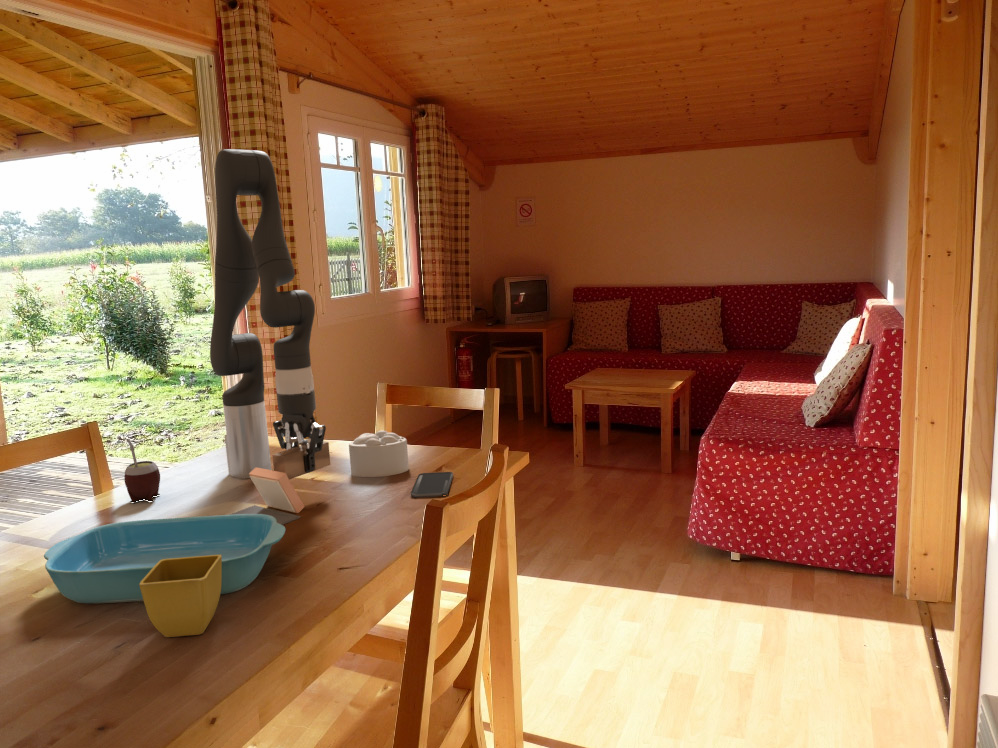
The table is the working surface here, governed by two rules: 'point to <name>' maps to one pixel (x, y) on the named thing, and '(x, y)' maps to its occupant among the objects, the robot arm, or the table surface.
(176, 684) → the table surface
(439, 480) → the phone
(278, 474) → the tile
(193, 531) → the casserole dish
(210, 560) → the flower pot
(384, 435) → the lumpy-topped squat cylinder
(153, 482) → the mate gourd
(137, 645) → the table surface
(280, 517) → the mat
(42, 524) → the table surface
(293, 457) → the bar
